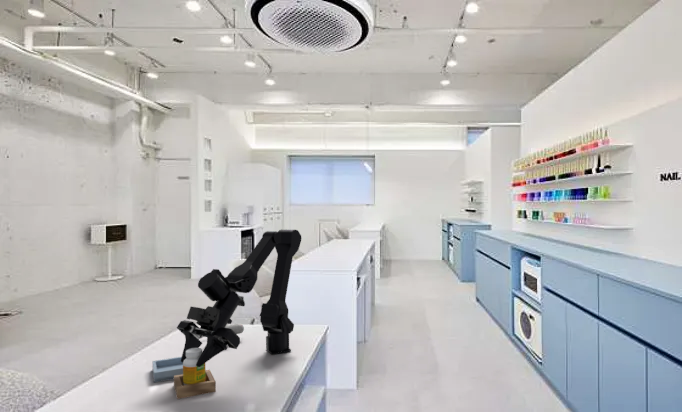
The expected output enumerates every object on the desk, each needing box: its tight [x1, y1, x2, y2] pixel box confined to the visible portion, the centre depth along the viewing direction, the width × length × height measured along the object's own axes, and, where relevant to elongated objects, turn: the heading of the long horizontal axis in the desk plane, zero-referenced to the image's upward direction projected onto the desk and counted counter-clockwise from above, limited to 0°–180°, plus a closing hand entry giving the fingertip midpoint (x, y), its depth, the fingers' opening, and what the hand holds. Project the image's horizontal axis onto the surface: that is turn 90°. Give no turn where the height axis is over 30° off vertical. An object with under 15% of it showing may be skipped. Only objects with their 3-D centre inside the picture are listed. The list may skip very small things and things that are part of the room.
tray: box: [152, 356, 183, 383], centre depth 119 cm, size 12×10×2 cm
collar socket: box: [173, 369, 217, 400], centre depth 107 cm, size 9×9×2 cm
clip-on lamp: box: [200, 323, 245, 339], centre depth 148 cm, size 12×6×18 cm
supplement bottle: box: [183, 347, 206, 386], centre depth 107 cm, size 5×5×10 cm
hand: (189, 364), depth 106 cm, fingers closed on supplement bottle, 5 cm apart
